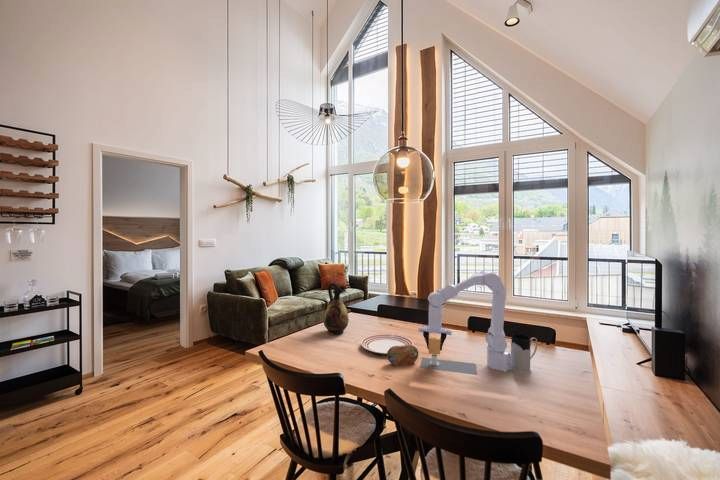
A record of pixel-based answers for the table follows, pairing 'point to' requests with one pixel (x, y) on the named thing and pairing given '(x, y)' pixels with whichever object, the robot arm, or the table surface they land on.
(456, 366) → the mat
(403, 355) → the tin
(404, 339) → the dinner plate
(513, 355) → the grey mug
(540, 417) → the table surface
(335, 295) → the ceramic jug
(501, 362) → the robot arm
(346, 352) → the table surface
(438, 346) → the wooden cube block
